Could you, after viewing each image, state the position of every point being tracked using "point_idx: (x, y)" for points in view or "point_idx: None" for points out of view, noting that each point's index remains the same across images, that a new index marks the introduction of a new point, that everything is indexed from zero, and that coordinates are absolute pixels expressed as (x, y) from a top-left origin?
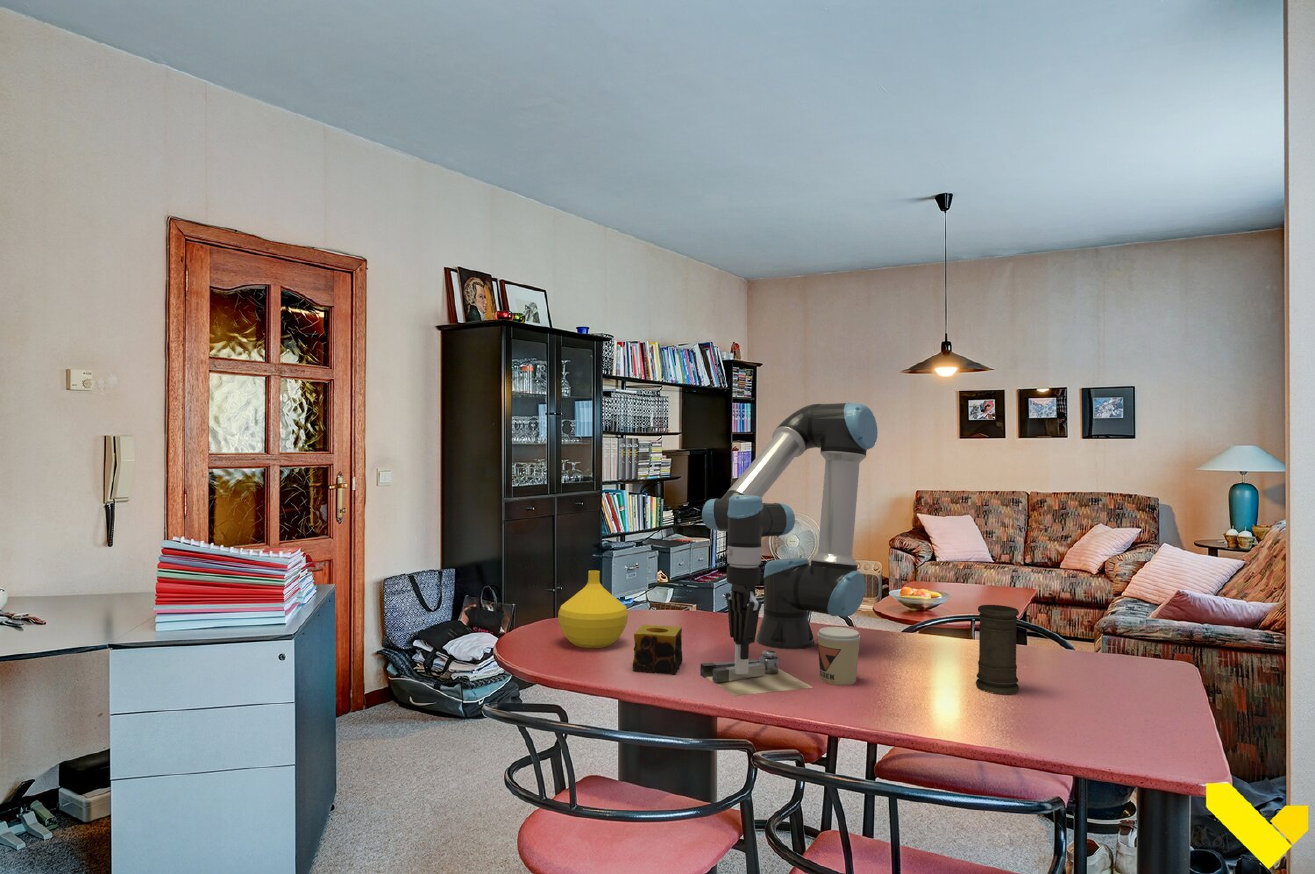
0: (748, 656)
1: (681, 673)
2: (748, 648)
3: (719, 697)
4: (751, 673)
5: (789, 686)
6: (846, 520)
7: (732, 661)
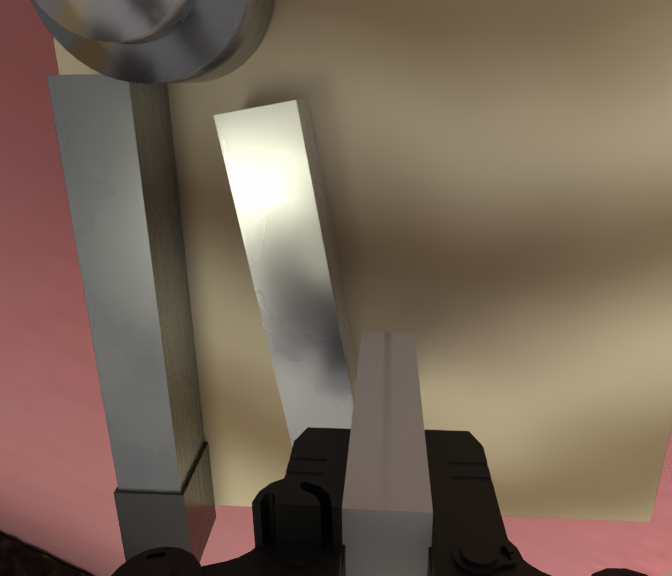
0: (481, 449)
1: (17, 527)
2: (500, 517)
3: (524, 529)
4: (332, 251)
5: (662, 26)
6: None
7: (95, 332)
